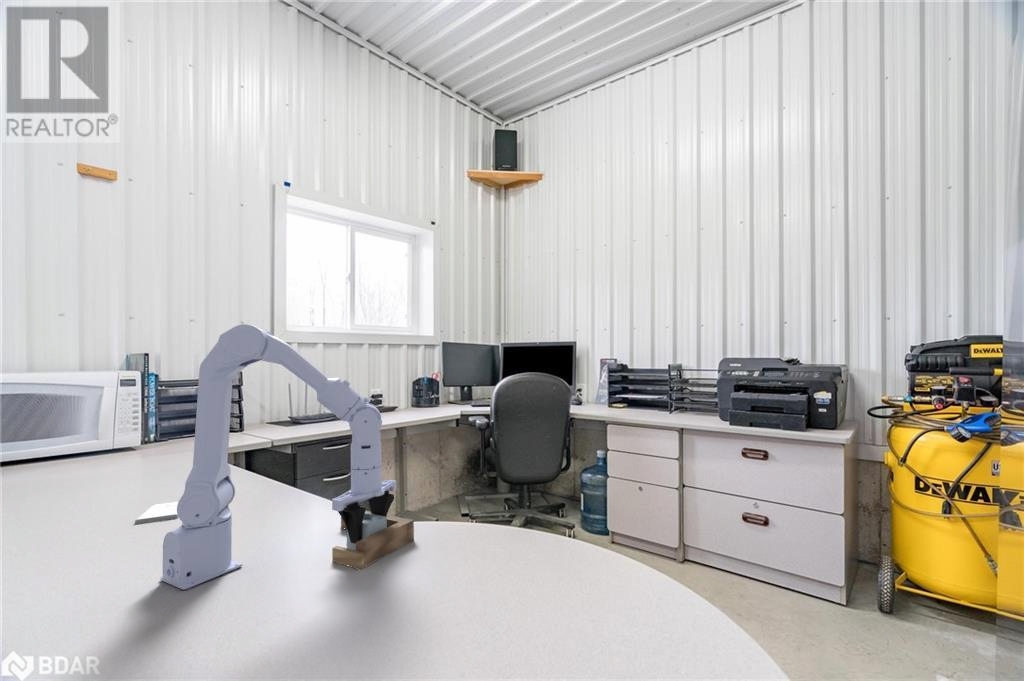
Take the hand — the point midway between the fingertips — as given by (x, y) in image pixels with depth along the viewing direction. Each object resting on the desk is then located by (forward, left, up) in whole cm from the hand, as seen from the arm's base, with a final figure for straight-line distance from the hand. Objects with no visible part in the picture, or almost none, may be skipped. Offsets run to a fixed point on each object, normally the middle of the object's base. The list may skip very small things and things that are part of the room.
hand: (366, 537), depth 86 cm
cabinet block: (0, 0, -2) cm, 2 cm away
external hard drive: (-7, +63, -3) cm, 63 cm away
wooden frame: (0, +4, -2) cm, 5 cm away
